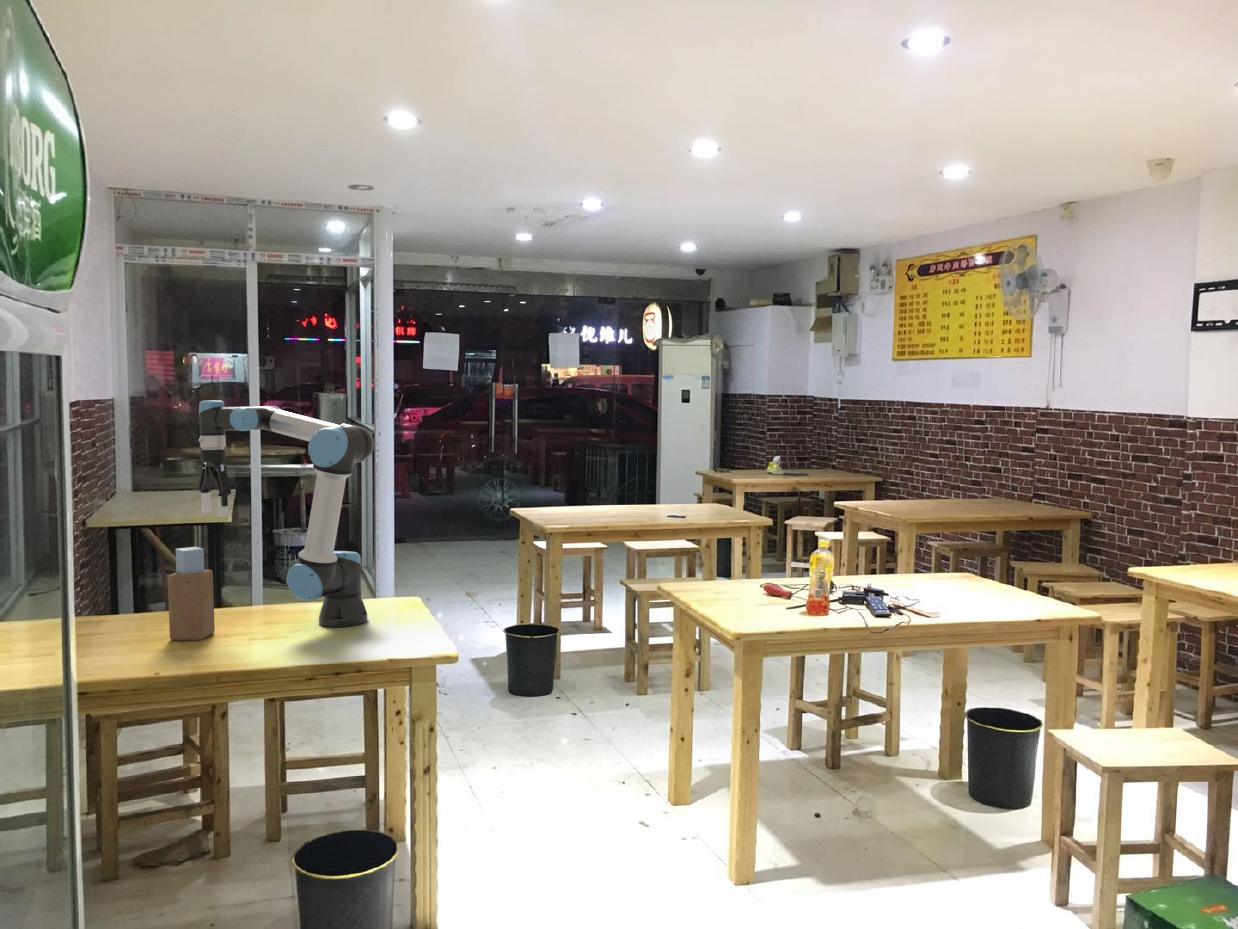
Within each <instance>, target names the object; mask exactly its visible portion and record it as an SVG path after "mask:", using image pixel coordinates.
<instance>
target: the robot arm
mask: <svg viewBox="0 0 1238 929" xmlns="http://www.w3.org/2000/svg"><path fill="white" fill-rule="evenodd" d="M198 420H199V422H198V424H199V438H198V442H199V444H200V445H199V446H200V448H201V449H200V451H199V452H200V454H199V455H200V461H201V463H200V465H201V466H200V473H199V474H200V475H199V480H198V486H197V490H198V491H199V492H200V494H201V514H207V513H208V514H209V513H212V497H211V496H212V495H211V492H212V490H211V487H212V485H213V484H212V483H213V481H214V483H215V485H216V488H217V491H218V494H217V497H218V515H219V516H218V517H219V518H223V517H229V516H230V515H229V495H231V494H232V490H231V485H230V481H229V480H230V479H229V477H228V476H229V475H228V472H227V471H228V470H227V465H226V464H222V462H225V461H226V459H227V451H226V449H225V448H226V446H227V443H226V442H227V441H226V439H227V438H226V431H239V432H247V431H248V432H249V431H252V430H253V431H258V430H262V431H263V430H265V431H268V432H273V433H277V434H280V435H283V436H288V437H290V438H291V437H292V438H295V439H298V440H303V441H306V442H309V443H308V446H307V450H308V451H307V452H308V456H310V457H309V458H310V460H311V461H312V463H313V465H312V470H314V471H315V473H316V478H315V485H314V490H313V496H312V501H311V502H312V503H311V508H310V514H309V521H308V525H307V526H308V527H307V533H306V539H305V545H304V549H301V551H299V552H298V554H297V555H298V556H297V560H296V563H295V564H293V565H292V566H291V567H289V569H288V571H287V574H286V583H287V586H288V589H289V590H290V591H291V594H292V595H294V597H296V598H297V599H299V600H301V601H312V600H318V599H319V598H323V602H322V606H321V609H320V611H319V615H318V624H319V625H320V626H322V627H329V628H330V627H331V628H344V627H345V628H346V627H347V628H348V627H354V626H359V625H362V624H365V623H367V622H368V612H367V609H366V606H365V603H364V600H363V598H362V563H361V554H359V553H358V552H356V551H346V550H335V545H336V539H337V534H338V527H339V522H340V516H341V510H342V504H343V498H344V494H345V488H346V481H347V479H348V478H349V477H350V476H352V475H353V472H354V467H355V466H354V465H355V464H359V463H362V462H364V461H366V460H367V459H368V458H369V457H371V455H372V453H373V451H374V446H375V441H374V440H375V439H374V436H372V433H371V432H370V431H369V430H368V429H366V427H363V426H360V425H355V424H354V425H353V424H349V423H342V424H337V423H333V422H328V421H324V420H320V419H317V418H314V417H309V416H305V415H301V414H297V413H293V412H291V411H290V412H289V411H286V410H282V409H281V408H280V407H279V406H276V405H275V406H273V405H266V406H264V405H263V406H225V402H224V401H223V400H201V401H200V402H199V405H198Z"/></svg>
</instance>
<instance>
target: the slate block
mask: <svg viewBox="0 0 1238 929" xmlns="http://www.w3.org/2000/svg"><path fill="white" fill-rule="evenodd" d="M204 550H205V549H204V548H202V547H198V546H191V547H190V546H189V547H181V548H180V547H179V548H175V573H176V572H178V573H181V574H191V573H199V572H204V569H205V557H204V556H205V553H204V552H205V551H204Z"/></svg>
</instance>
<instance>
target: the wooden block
mask: <svg viewBox="0 0 1238 929" xmlns="http://www.w3.org/2000/svg"><path fill="white" fill-rule="evenodd" d="M213 572H214V571H213V570H212V569H209V568H207V569H205V568H204V572H199V573H191V574H181V573H178V572H176V571H175V572H173V573H171V574H168V576H167V592H168V593H167V594H168V595H167V597H168V619H169V620H168V621H169V622H168V623H169V639H170V641H171V640H172V641H202V640H204V639H205V638H207V637H209V636H210V635H213V634H215V627H216V626H215V603H214V602H215V601H214V600H215V599H214V573H213Z"/></svg>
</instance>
